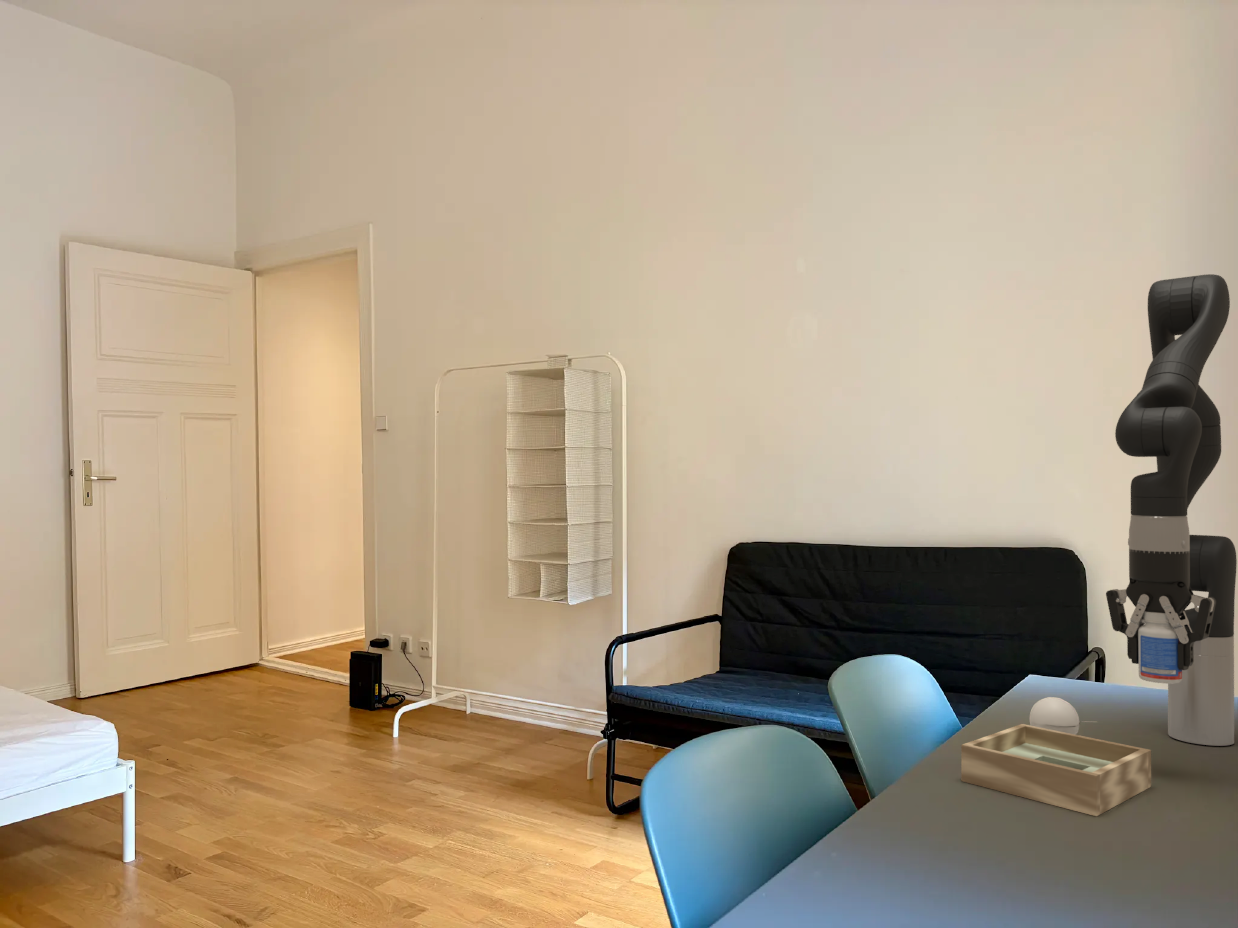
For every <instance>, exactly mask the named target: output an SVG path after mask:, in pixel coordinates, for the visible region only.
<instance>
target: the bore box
mask: <svg viewBox="0 0 1238 928" xmlns="http://www.w3.org/2000/svg"><path fill="white" fill-rule="evenodd" d="M960 746H961V752H960V754H961V756H960V757H961V759H960V760H961V764H960V765H961V767H960V768H961V769H960V770H961V772H960V773H961V776H960V779H961V780H960V781H961V782H963V783H967V784H972V785H975V786H979V787H983V788H987V789H991V790H993V791H998V792H1002V793H1005V794H1008V795H1009V794H1010V795H1013V796H1018V797H1020V798H1025V799H1030V800H1032V801H1036V802H1041V803H1044V804H1047V805H1051V806H1056V807H1059V808H1063V809H1067V810H1071V811H1074V812H1079V813H1082V814H1086V815H1090V816H1094V817H1099V816H1100V815H1102V814H1104V813H1106V812H1107V811H1109V810H1111V809H1113V808H1115V807H1117V806H1119V805H1120V804H1122V803H1124V802H1126V801H1128V800H1129V799H1132V798H1134V797H1135V796H1136V795H1138V794H1141V793H1143V792H1144V791H1147V790H1148V789H1150V788H1152V749H1148V748H1143V747H1139V746H1138V747H1137V746H1133V745H1127V744H1123V743H1119V742H1115V741H1109V740H1103V739H1098V738H1093V737H1089V736H1084V735H1078V734H1076V735H1075V734H1070V733H1065V732H1060V731H1055V730H1050V729H1045V728H1040V727H1035V726H1030V724H1025V723H1021V724H1017V725H1014V726H1012V727H1009V728H1006V729H1003V730H1001V731H998V732H995V733H991V734H989V735H985V736H983V737H981V738H978V739H975V740H971V741H968V742H966V743H963V744H961V745H960Z"/></svg>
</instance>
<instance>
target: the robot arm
mask: <svg viewBox="0 0 1238 928" xmlns="http://www.w3.org/2000/svg"><path fill="white" fill-rule="evenodd" d="M1230 301H1231V299H1230V290H1229V286H1228V284H1227V281H1226V279H1224V277H1223V276H1221V275H1219V274H1218V275H1217V274H1200V275H1199V274H1198V275H1192V276H1185V277H1176V278H1169V279H1161V280H1157V281H1155V282H1153V283H1152V284H1151V286H1150V288H1149V291H1148V296H1147V318H1148V328H1149V329H1148V330H1149V337H1150V347H1151V348H1150V349H1151V356H1152V361H1151V362H1150V364H1149V365H1148V368H1147V371H1146V373H1145V377H1144V380H1143V384H1142V387H1141V390H1140V391H1139V392H1138V393H1137V394H1136V395H1135V397H1134V398H1133V399H1132V400H1131V401H1130V403H1129V404H1128V405H1127V406H1126V407H1125V408H1124V410H1123V411H1122V412H1121V414H1120V415H1119V417H1118V421H1117V423H1116V425H1115V432H1114V435H1115V437H1114V438H1115V441H1116V445H1117V447H1118V448H1119V449H1120V451H1121V452H1123V453H1124V454H1126V455H1127V456H1128V457H1129V456H1130V457H1135V458H1149V457H1150V458H1153V457H1156V467H1157V468H1156V469H1157V471H1154V472H1148V473H1143V474H1139V475H1136V476H1134V477H1133V478H1132V480H1131V482H1130V521H1129V528H1128V539H1127V545H1128V571H1129V572H1128V575H1129V576H1128V577H1129V579H1128V580H1129V582H1128V585H1127V587H1126V588H1125V589H1118V588H1113V589H1110V590H1107V591H1106V593H1105V596H1106V601H1107V606H1108V610H1109V611H1108V612H1109V615H1110V621H1111V626H1112V629H1113V630H1114V631H1115V632H1120V633H1121V634H1123V635H1125V636H1126V643H1127V644H1126V645H1127V647H1126V648H1127V649H1126V650H1127V651H1126V653H1127V654H1126V655H1127V657H1128V659H1129V660H1131V664H1135V665H1136V664H1137V665H1139V662H1138V629H1139V628H1140V627H1141V626H1143V625H1145V621H1144V619H1143V616H1144V613H1145V611H1147V612H1157V613H1166V615H1167V617H1168V619H1169V622H1170V624H1171V626H1172V628H1174V630H1175V632H1176V634H1177V636H1178V638H1179V641H1180V643H1178V669H1179V670H1182V681H1181V682H1179V683H1174V684H1167V735H1168V736H1169V737H1170V738H1173V739H1176V740H1178V741H1182V742H1186V743H1189V744H1190V743H1191V744H1196V745H1203V746H1205V745H1206V746H1216V747H1219V746H1220V747H1223V746H1230V745H1231V746H1232V745H1234V744H1235V637H1234V636H1235V631H1234V630H1235V600H1236V599H1235V598H1236V597H1235V596H1236V595H1235V594H1236V580H1237V562H1238V561H1237V550H1236V546H1235V544H1234V542H1233V541H1232V540H1231V538H1230V537H1227V536H1224V535H1207V534H1206V535H1205V534H1203V535H1202V534H1190V527H1189V522H1188V508H1189V507H1190V505H1191V503H1192V502H1193V499H1194V497H1195V495H1197V493H1198V491H1199V490H1200V489H1201V487H1202V486H1203V484H1204V483H1205V482H1206V480H1208V478H1209V476H1210V475H1211V474H1212V472H1213V470H1214V469H1215V467H1216V466H1217V464H1218V463H1219V460H1220V458H1221V454H1222V432H1221V431H1222V430H1221V429H1222V428H1221V415H1220V412H1219V410H1218V408H1217V406H1216V405H1215V403H1214V401H1213V400H1212V399H1211V398H1210V396H1209V395H1208V394H1207V392H1205V390H1204V389H1203V388H1202V387H1201V386H1200V380H1201V379H1200V378H1201V377H1202V372H1203V370H1204V367H1205V365H1206V363H1207V360H1208V359H1209V357H1210V356H1211V353H1212V352H1213V350H1214V348H1215V346H1216V345H1217V343H1218V341H1219V339H1220V337H1221V335H1222V333H1223V330H1224V329H1225V327H1226V325H1227V321H1228V320H1229V319H1228V318H1229V314H1230V305H1231V304H1230ZM1175 336H1179V337H1177V338H1176V337H1175ZM1194 592H1205V593H1208V596H1207V597H1204V596H1202V595H1201V596H1200V595H1197V594H1194ZM1127 598H1128V599H1129V601H1130V602H1131V603H1132V604H1133V606H1134V607H1135V608H1134V611H1133V613H1132V614H1131V617H1130V621H1129V623H1128V621H1127V615H1126V612H1125V611H1126V610H1125V606H1124V604H1125V603H1126V602H1127ZM1191 603H1192V604H1193V605H1194V607H1192V608H1189V609H1187V608H1188V607H1189V605H1190V604H1191Z"/></svg>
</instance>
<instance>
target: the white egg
mask: <svg viewBox="0 0 1238 928" xmlns="http://www.w3.org/2000/svg"><path fill="white" fill-rule="evenodd" d="M1081 722H1082V723H1098V721H1095V720H1094V721H1091V720H1089V721H1088V720H1087V721H1086V720H1085V721H1084V720H1082V721H1081ZM1081 722H1080V717H1079V714H1078V712H1077V710H1076V708H1075V707H1074V706H1073V705H1072V704H1071V703H1070V702H1068V701H1066V700H1064V699H1062V698H1060V697H1056V696H1055V697H1053V696H1048V697H1044V698H1042V699H1039V700H1038V701H1036V702H1035V703H1034V704H1033V706H1032V707H1031V710H1030V713H1029V725H1030V726H1035V727H1040V728H1045V729H1050V730H1055V731H1060V732H1065V733H1070V734H1075V735H1078V733H1079V729H1080V725H1081Z"/></svg>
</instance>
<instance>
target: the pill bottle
mask: <svg viewBox="0 0 1238 928" xmlns="http://www.w3.org/2000/svg"><path fill="white" fill-rule="evenodd" d="M1143 619H1144V621H1145V625H1143V626H1141V627H1140V628H1139V629H1138V662H1139V664H1138V677H1139V679H1141V680H1143V681H1145V682H1151V683H1157V684H1167V685H1168V684H1174V683H1179V682H1181V681H1182V670H1179V669H1178V643H1180V641H1179V638H1178V636H1177V634H1176V632H1175V630H1174V628H1172V626H1171V624H1170V622H1169V619H1168V617H1167V615H1166V613H1157V612H1147V611H1145V613H1144V616H1143Z"/></svg>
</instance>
